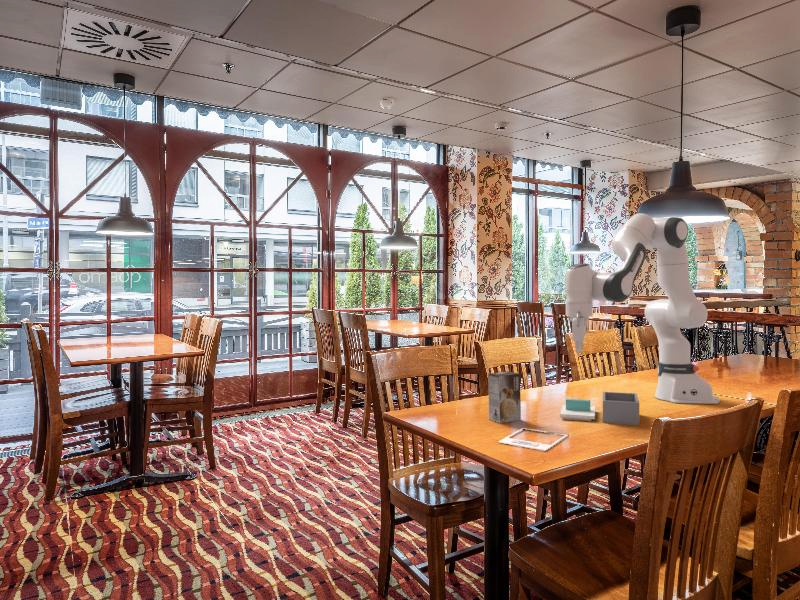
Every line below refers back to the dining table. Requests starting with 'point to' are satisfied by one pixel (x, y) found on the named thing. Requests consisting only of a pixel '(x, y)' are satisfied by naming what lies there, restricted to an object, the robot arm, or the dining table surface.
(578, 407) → the lid
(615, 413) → the tub
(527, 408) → the dining table surface
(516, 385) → the coffee box
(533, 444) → the photo frame
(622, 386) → the dining table surface
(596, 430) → the dining table surface
